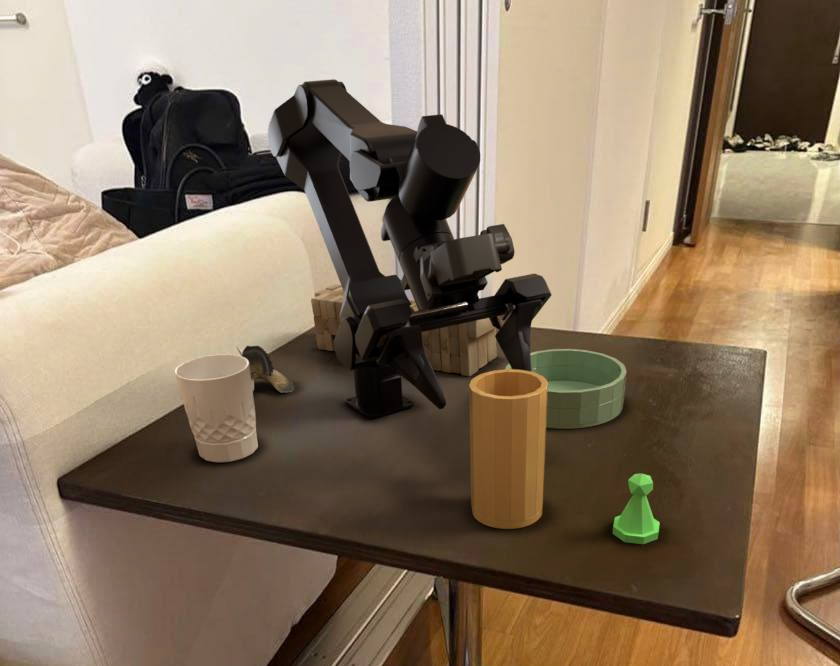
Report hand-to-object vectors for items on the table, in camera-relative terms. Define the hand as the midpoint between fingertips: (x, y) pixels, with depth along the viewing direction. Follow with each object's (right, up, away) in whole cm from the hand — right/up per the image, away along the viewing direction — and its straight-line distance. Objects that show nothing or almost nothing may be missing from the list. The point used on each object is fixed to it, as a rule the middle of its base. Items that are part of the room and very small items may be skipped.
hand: (486, 396), depth 73 cm
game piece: (+13, -13, -1) cm, 19 cm away
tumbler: (+2, -11, +3) cm, 11 cm away
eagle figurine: (-28, +7, +33) cm, 43 cm away
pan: (+11, +3, +23) cm, 26 cm away
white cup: (-28, -3, +17) cm, 33 cm away
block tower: (-9, +13, +41) cm, 44 cm away
